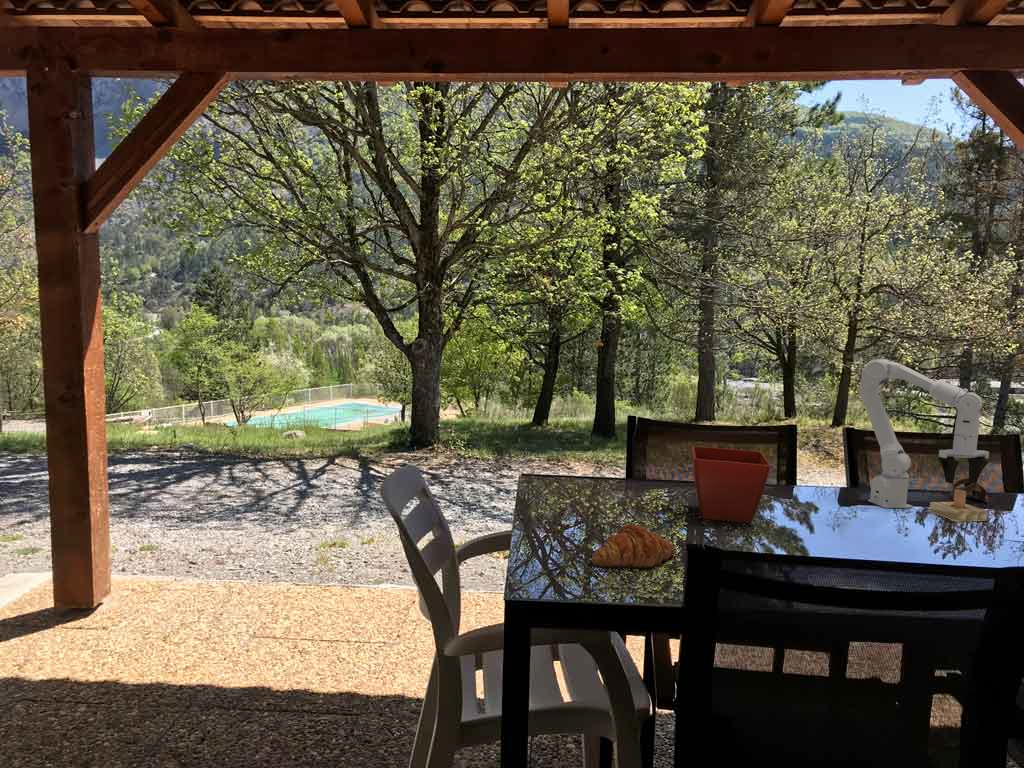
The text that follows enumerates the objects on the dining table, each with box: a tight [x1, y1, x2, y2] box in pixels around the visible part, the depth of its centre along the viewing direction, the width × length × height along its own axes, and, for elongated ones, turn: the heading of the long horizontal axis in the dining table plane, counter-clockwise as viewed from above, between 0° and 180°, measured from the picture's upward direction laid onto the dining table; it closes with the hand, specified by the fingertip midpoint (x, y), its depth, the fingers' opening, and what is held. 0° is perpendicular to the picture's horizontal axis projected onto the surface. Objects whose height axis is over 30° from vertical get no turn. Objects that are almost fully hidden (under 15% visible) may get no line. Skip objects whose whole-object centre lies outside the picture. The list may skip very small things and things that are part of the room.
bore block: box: [928, 501, 989, 523], centre depth 214 cm, size 10×10×3 cm
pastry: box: [591, 523, 676, 570], centre depth 163 cm, size 17×15×8 cm
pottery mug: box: [951, 477, 989, 504], centre depth 236 cm, size 12×10×8 cm
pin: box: [953, 490, 967, 508], centre depth 213 cm, size 3×3×7 cm
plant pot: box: [691, 445, 771, 524], centre depth 203 cm, size 19×19×17 cm
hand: (960, 482), depth 213 cm, fingers open, 7 cm apart
